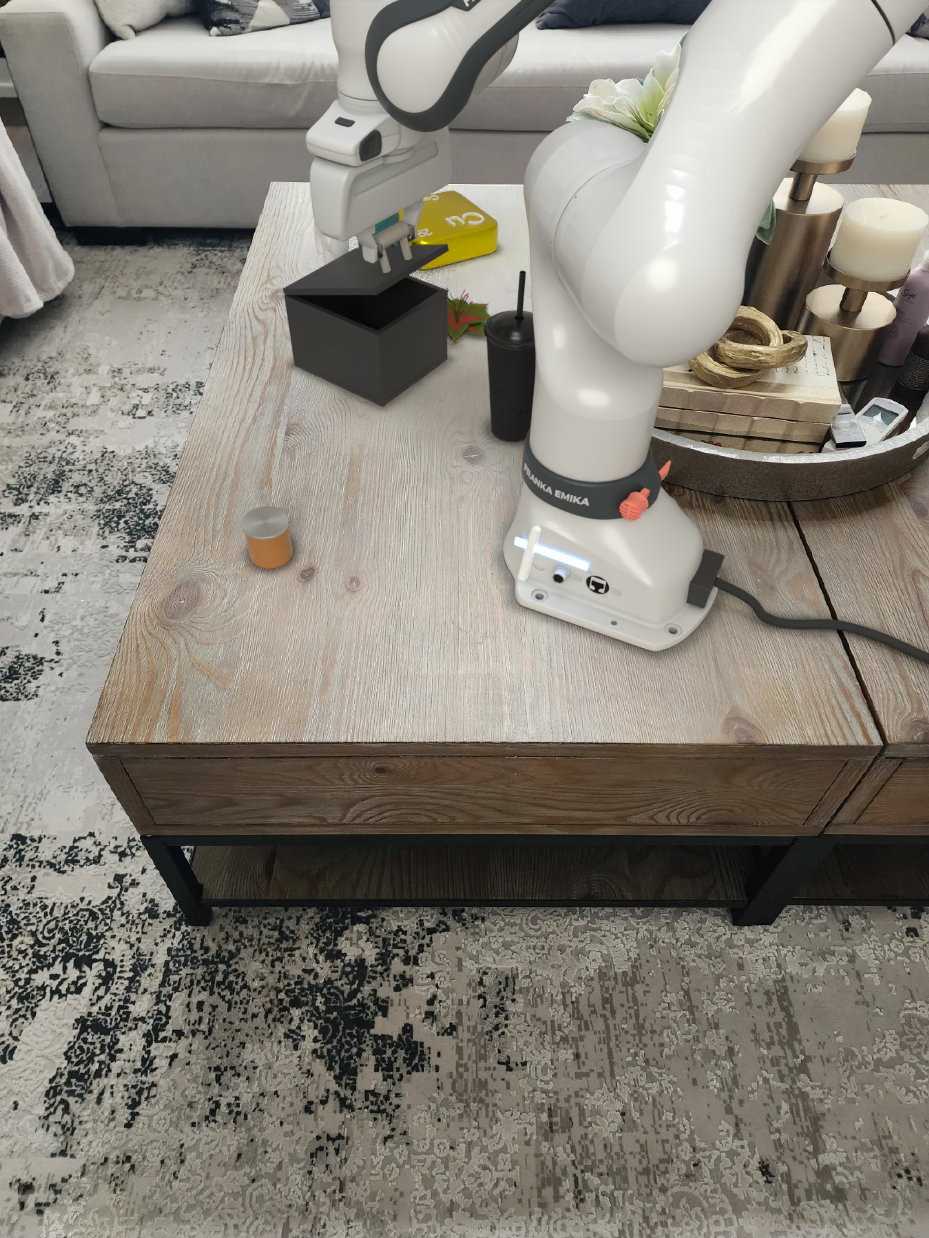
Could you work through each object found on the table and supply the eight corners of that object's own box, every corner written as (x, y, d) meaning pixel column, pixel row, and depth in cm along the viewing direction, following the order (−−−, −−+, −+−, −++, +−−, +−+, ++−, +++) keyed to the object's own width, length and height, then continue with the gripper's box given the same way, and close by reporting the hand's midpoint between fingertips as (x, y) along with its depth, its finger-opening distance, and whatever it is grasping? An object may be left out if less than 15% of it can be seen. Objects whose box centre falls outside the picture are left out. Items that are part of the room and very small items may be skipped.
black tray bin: (447, 359, 113) (448, 290, 106) (382, 406, 106) (378, 335, 99) (361, 323, 119) (356, 254, 112) (294, 365, 112) (283, 295, 104)
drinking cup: (469, 438, 102) (474, 279, 87) (495, 405, 107) (503, 249, 92) (527, 456, 100) (543, 297, 85) (551, 422, 105) (570, 264, 90)
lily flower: (498, 347, 116) (500, 316, 112) (410, 344, 116) (409, 313, 112) (499, 303, 123) (500, 273, 120) (417, 300, 123) (416, 269, 120)
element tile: (454, 214, 142) (454, 185, 139) (501, 251, 134) (503, 221, 130) (374, 233, 137) (372, 203, 134) (418, 273, 129) (417, 241, 125)
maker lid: (449, 250, 102) (438, 207, 99) (376, 295, 95) (363, 249, 92) (357, 254, 111) (344, 214, 108) (284, 295, 104) (269, 253, 101)
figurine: (350, 287, 125) (342, 181, 114) (373, 318, 120) (366, 210, 109) (303, 296, 123) (290, 190, 112) (324, 328, 118) (312, 219, 107)
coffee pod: (303, 550, 89) (298, 518, 85) (272, 576, 86) (265, 544, 83) (271, 532, 91) (264, 500, 87) (239, 556, 88) (231, 524, 85)
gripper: (420, 86, 95) (424, 212, 105) (293, 140, 84) (311, 275, 94) (465, 97, 93) (465, 225, 103) (341, 154, 81) (354, 291, 92)
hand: (390, 249), depth 98 cm, fingers closed on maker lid, 5 cm apart
